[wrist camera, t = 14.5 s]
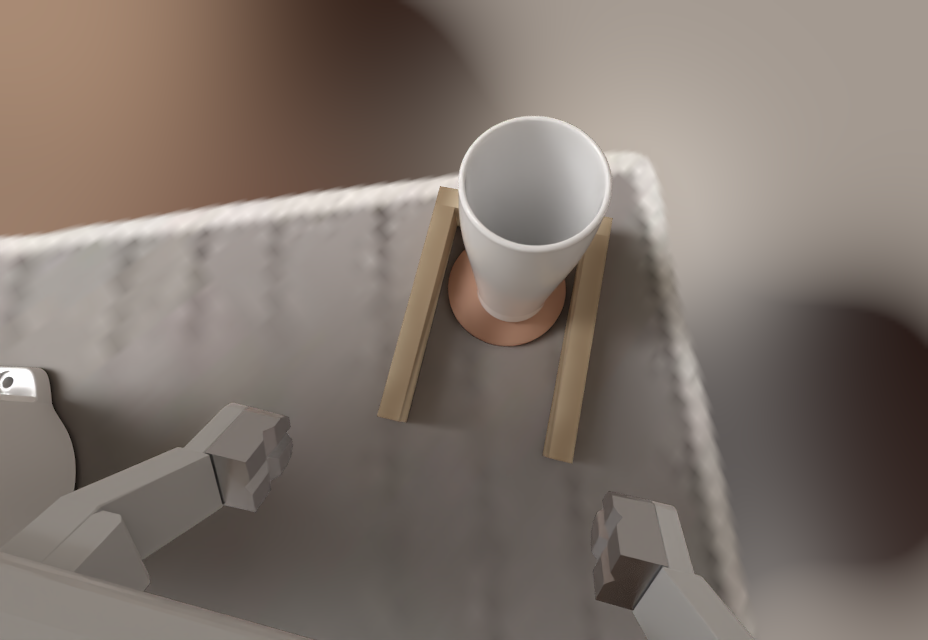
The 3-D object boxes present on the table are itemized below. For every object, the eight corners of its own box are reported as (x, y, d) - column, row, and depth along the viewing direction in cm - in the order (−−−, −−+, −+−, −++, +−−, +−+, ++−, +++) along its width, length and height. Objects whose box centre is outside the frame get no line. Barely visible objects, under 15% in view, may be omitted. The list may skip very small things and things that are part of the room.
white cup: (569, 317, 32) (641, 224, 18) (483, 345, 32) (484, 273, 17) (538, 238, 34) (580, 94, 19) (456, 264, 34) (436, 137, 19)
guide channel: (386, 417, 32) (376, 416, 29) (443, 206, 36) (440, 186, 33) (563, 460, 30) (572, 463, 27) (601, 236, 34) (612, 218, 31)
